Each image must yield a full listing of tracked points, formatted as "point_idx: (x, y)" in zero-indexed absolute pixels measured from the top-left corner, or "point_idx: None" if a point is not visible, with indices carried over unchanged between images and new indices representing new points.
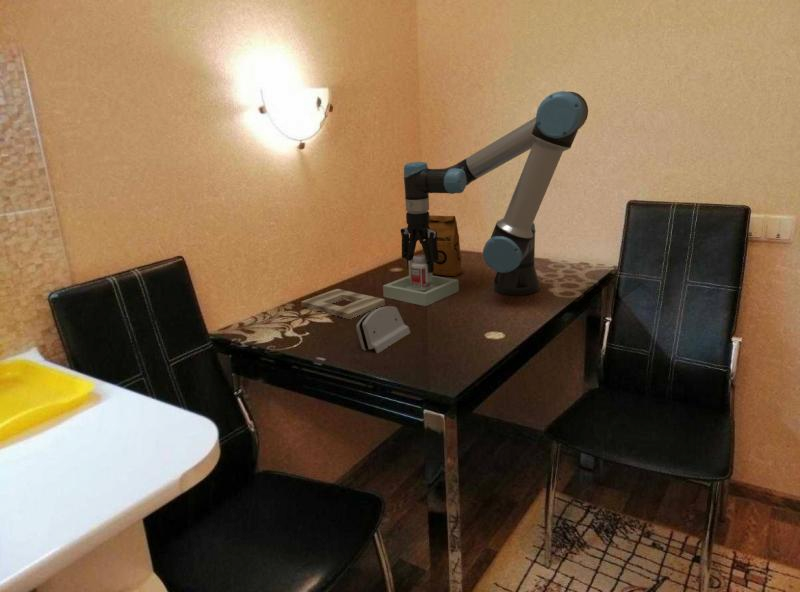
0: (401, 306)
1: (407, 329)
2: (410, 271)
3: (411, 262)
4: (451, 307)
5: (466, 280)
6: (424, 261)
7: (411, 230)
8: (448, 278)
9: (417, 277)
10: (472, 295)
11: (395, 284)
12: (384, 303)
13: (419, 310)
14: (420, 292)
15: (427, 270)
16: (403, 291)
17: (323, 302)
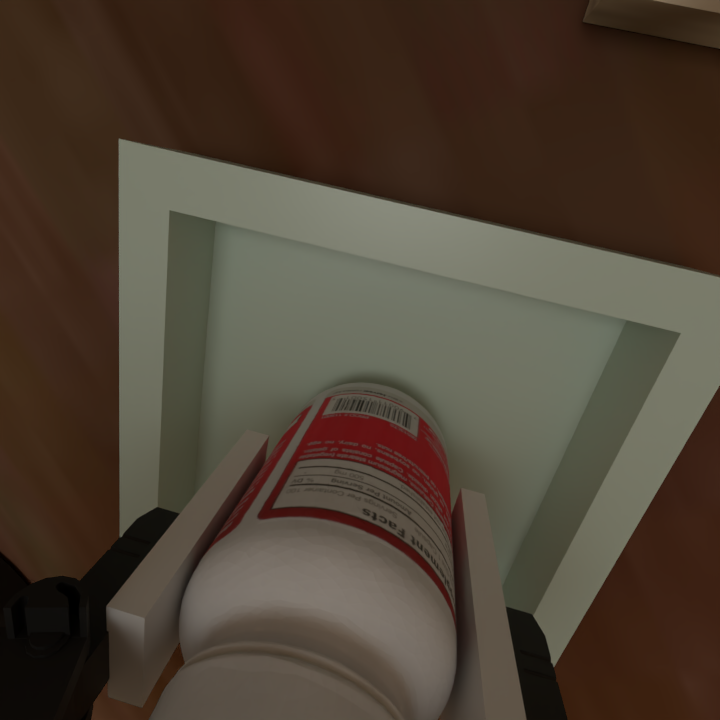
0: (391, 59)
1: None
2: (471, 562)
3: (470, 708)
4: (16, 204)
5: None
6: (170, 682)
7: None
8: None
9: (330, 445)
10: (58, 472)
11: (625, 416)
12: (591, 8)
13: (180, 18)
14: (198, 182)
15: (175, 528)
16: (430, 210)
17: None
